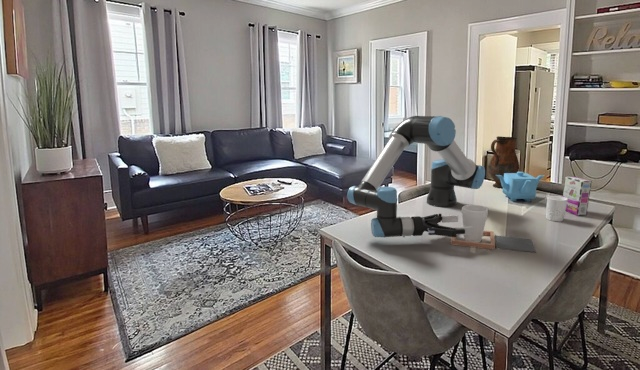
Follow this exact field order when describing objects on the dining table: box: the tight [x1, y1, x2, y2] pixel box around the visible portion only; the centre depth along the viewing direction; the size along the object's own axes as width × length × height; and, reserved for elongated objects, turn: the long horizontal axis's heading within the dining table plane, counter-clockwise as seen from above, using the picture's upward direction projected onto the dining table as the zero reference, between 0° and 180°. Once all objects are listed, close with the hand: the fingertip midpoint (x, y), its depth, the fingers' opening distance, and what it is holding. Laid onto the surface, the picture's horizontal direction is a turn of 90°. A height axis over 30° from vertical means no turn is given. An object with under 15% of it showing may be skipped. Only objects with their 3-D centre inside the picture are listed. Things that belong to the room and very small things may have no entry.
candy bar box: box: [562, 175, 592, 217], centre depth 180 cm, size 11×5×16 cm, turn 5°
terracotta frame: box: [450, 230, 496, 250], centre depth 153 cm, size 15×15×2 cm
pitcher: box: [487, 136, 520, 189], centre depth 229 cm, size 17×21×30 cm
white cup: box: [545, 195, 568, 222], centre depth 172 cm, size 8×8×10 cm
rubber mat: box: [494, 234, 537, 254], centre depth 147 cm, size 13×13×1 cm
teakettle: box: [496, 171, 546, 202], centre depth 205 cm, size 19×19×15 cm
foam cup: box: [461, 204, 489, 243], centre depth 151 cm, size 10×9×13 cm
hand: (464, 224), depth 150 cm, fingers open, 13 cm apart
